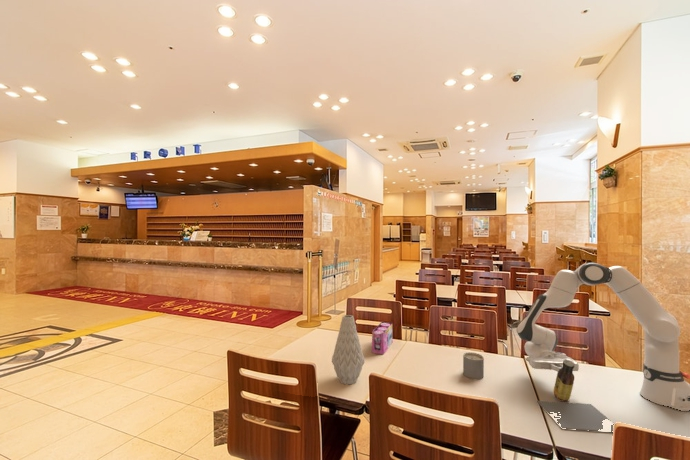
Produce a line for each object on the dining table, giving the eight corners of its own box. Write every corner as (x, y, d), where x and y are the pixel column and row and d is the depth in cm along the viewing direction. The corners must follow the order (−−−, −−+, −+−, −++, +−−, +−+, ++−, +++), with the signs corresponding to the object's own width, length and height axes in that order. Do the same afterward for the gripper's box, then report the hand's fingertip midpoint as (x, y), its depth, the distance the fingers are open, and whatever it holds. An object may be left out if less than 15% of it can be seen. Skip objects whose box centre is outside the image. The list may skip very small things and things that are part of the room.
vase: (367, 374, 163) (367, 313, 163) (360, 390, 147) (360, 322, 147) (337, 370, 168) (337, 310, 168) (327, 385, 152) (327, 319, 152)
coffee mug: (482, 381, 156) (482, 361, 156) (461, 376, 161) (461, 357, 161) (485, 370, 168) (485, 352, 168) (466, 366, 173) (466, 348, 173)
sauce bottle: (553, 389, 144) (561, 354, 138) (570, 395, 140) (578, 360, 134) (551, 398, 139) (559, 363, 133) (568, 405, 135) (577, 369, 129)
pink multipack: (383, 355, 188) (383, 333, 188) (370, 353, 191) (370, 331, 191) (392, 342, 210) (392, 322, 210) (381, 340, 213) (381, 321, 213)
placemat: (590, 405, 135) (590, 403, 135) (624, 433, 116) (624, 432, 116) (537, 402, 137) (537, 400, 137) (561, 429, 119) (561, 427, 119)
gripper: (523, 351, 154) (537, 362, 140) (567, 353, 151) (586, 364, 137) (523, 364, 154) (537, 376, 140) (568, 366, 151) (586, 379, 137)
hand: (562, 370), depth 139 cm, fingers closed
